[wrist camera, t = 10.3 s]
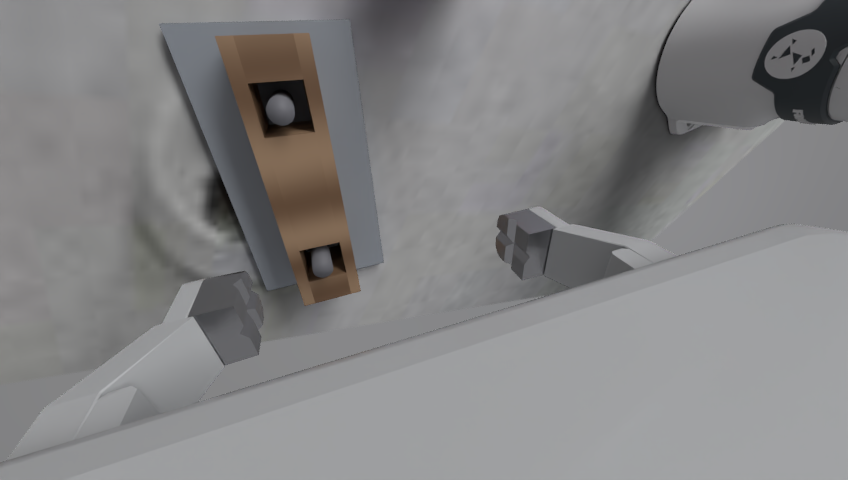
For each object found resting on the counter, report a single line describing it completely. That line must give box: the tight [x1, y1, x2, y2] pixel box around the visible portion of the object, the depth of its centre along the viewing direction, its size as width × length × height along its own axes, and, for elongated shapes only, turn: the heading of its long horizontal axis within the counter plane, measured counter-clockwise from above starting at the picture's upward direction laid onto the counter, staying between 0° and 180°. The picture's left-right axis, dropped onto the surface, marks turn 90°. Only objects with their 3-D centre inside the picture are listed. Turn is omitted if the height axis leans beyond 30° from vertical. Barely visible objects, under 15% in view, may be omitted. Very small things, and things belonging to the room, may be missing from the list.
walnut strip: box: [215, 33, 361, 306], centre depth 25 cm, size 20×5×5 cm, turn 4°
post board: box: [159, 19, 384, 291], centre depth 25 cm, size 12×22×7 cm, turn 4°
